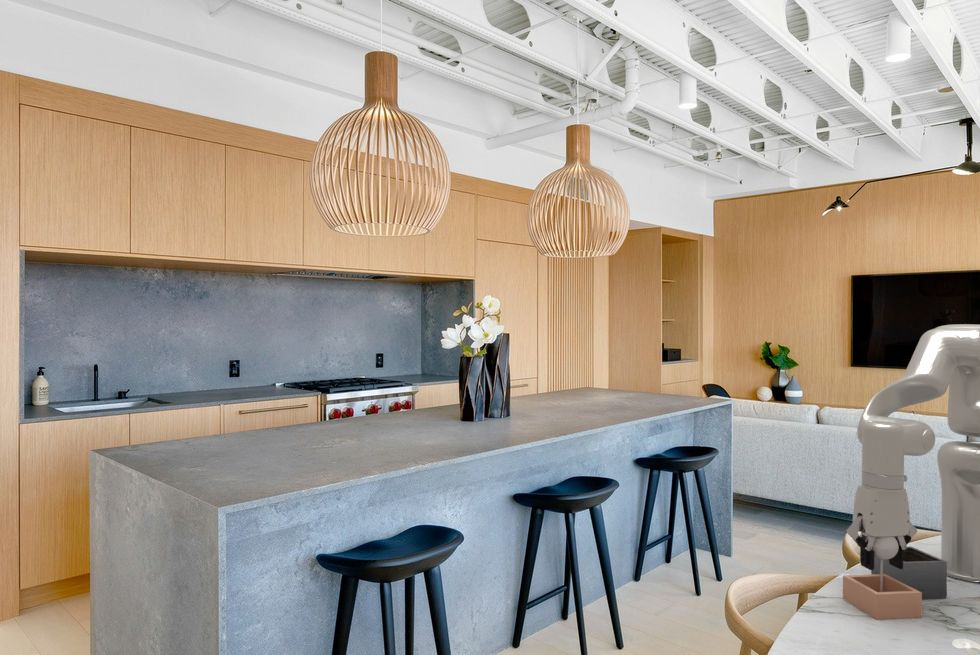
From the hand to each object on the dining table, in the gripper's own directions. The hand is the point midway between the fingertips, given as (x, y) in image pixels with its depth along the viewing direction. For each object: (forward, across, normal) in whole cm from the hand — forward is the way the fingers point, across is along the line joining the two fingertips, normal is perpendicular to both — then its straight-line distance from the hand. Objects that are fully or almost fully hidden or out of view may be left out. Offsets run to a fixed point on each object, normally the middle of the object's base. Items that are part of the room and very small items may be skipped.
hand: (881, 566), depth 133 cm
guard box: (+9, -13, -8) cm, 17 cm away
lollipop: (+8, 0, 0) cm, 8 cm away
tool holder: (+9, 0, 0) cm, 9 cm away
